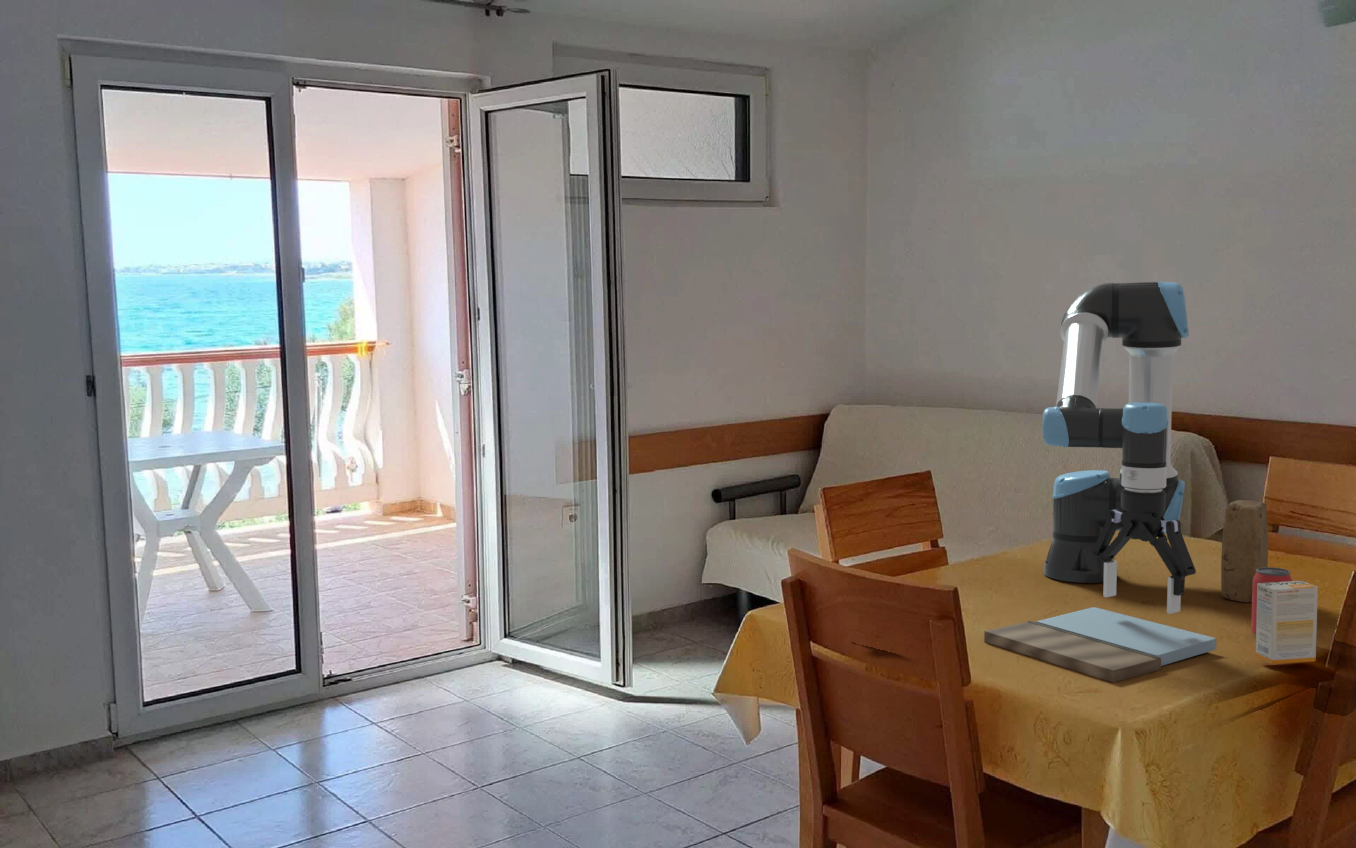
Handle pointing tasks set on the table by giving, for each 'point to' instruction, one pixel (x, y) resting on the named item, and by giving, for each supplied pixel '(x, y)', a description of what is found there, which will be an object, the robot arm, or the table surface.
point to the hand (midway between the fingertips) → (1140, 604)
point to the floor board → (1073, 651)
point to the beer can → (1266, 577)
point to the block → (1243, 548)
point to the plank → (1134, 634)
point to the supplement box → (1286, 622)
